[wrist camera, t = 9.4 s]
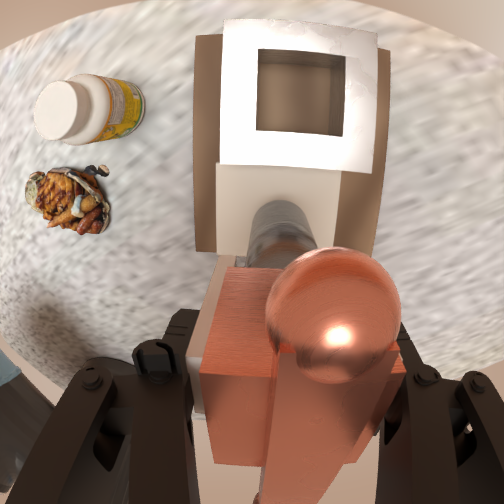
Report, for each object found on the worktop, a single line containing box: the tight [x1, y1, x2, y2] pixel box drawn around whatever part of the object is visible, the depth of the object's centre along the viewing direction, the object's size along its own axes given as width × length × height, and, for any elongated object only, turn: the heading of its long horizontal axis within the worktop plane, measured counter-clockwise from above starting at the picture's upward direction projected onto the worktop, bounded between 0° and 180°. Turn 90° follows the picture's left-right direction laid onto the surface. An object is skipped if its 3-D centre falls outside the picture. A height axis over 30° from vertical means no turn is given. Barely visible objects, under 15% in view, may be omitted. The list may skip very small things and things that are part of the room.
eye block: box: [220, 19, 378, 174], centre depth 19 cm, size 10×10×5 cm
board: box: [193, 34, 390, 257], centre depth 23 cm, size 16×19×1 cm
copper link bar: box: [199, 200, 407, 504], centre depth 13 cm, size 11×5×18 cm, turn 179°
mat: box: [216, 162, 342, 257], centre depth 25 cm, size 10×8×1 cm
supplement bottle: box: [34, 74, 144, 145], centre depth 18 cm, size 5×5×10 cm
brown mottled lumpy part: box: [25, 165, 109, 235], centre depth 25 cm, size 7×12×4 cm, turn 87°
